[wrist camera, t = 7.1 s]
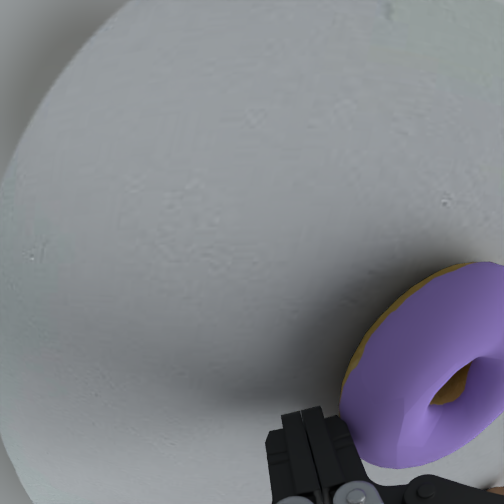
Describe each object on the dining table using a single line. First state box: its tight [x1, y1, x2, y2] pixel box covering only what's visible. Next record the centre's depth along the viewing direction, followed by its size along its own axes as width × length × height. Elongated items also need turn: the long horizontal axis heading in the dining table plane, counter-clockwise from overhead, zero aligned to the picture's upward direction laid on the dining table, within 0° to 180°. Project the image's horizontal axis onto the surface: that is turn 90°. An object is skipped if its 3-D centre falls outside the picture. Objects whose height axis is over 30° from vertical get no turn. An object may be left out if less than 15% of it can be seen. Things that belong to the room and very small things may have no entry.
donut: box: [339, 262, 504, 469], centre depth 10 cm, size 10×9×5 cm
